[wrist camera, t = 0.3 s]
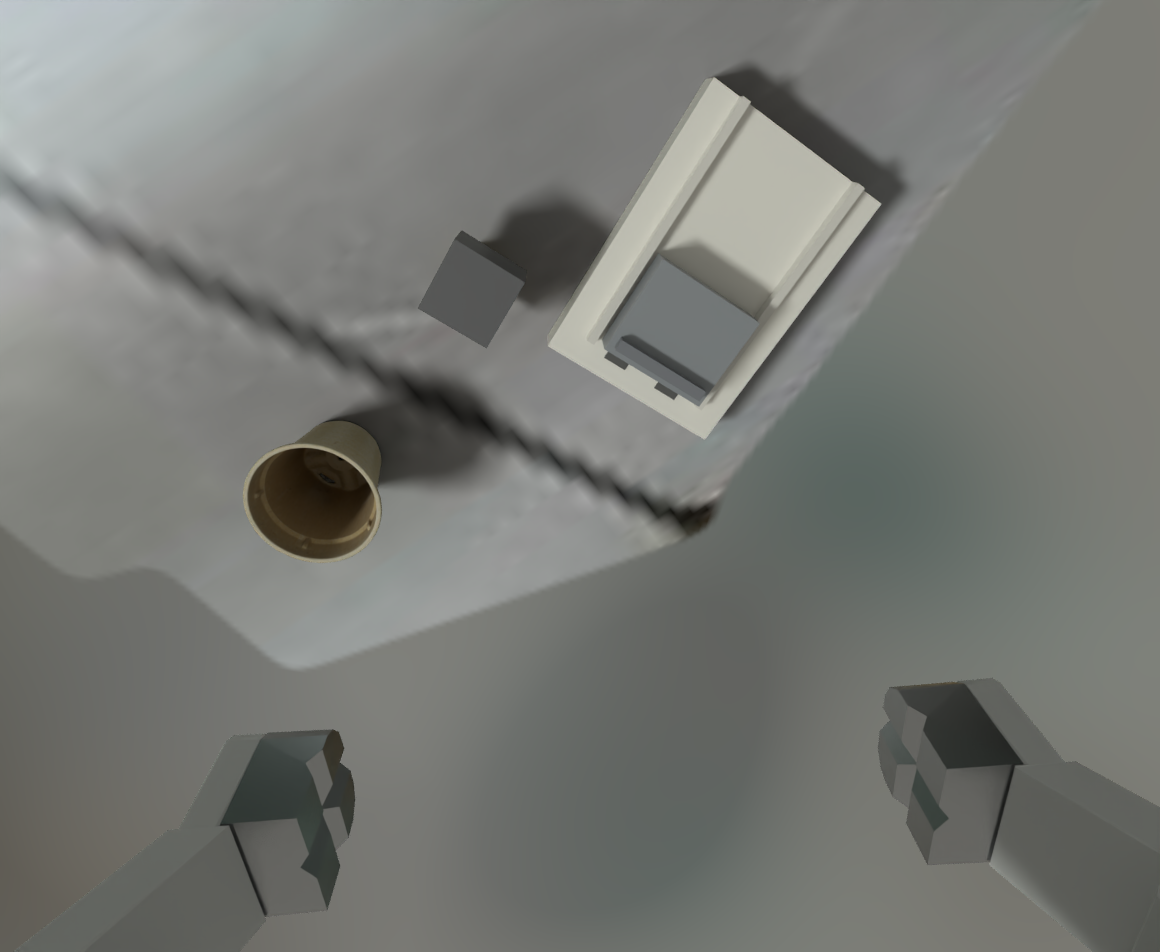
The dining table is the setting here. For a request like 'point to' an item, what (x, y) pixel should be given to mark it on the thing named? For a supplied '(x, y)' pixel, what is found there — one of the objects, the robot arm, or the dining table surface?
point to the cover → (679, 331)
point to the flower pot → (317, 494)
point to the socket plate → (719, 242)
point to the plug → (473, 289)
